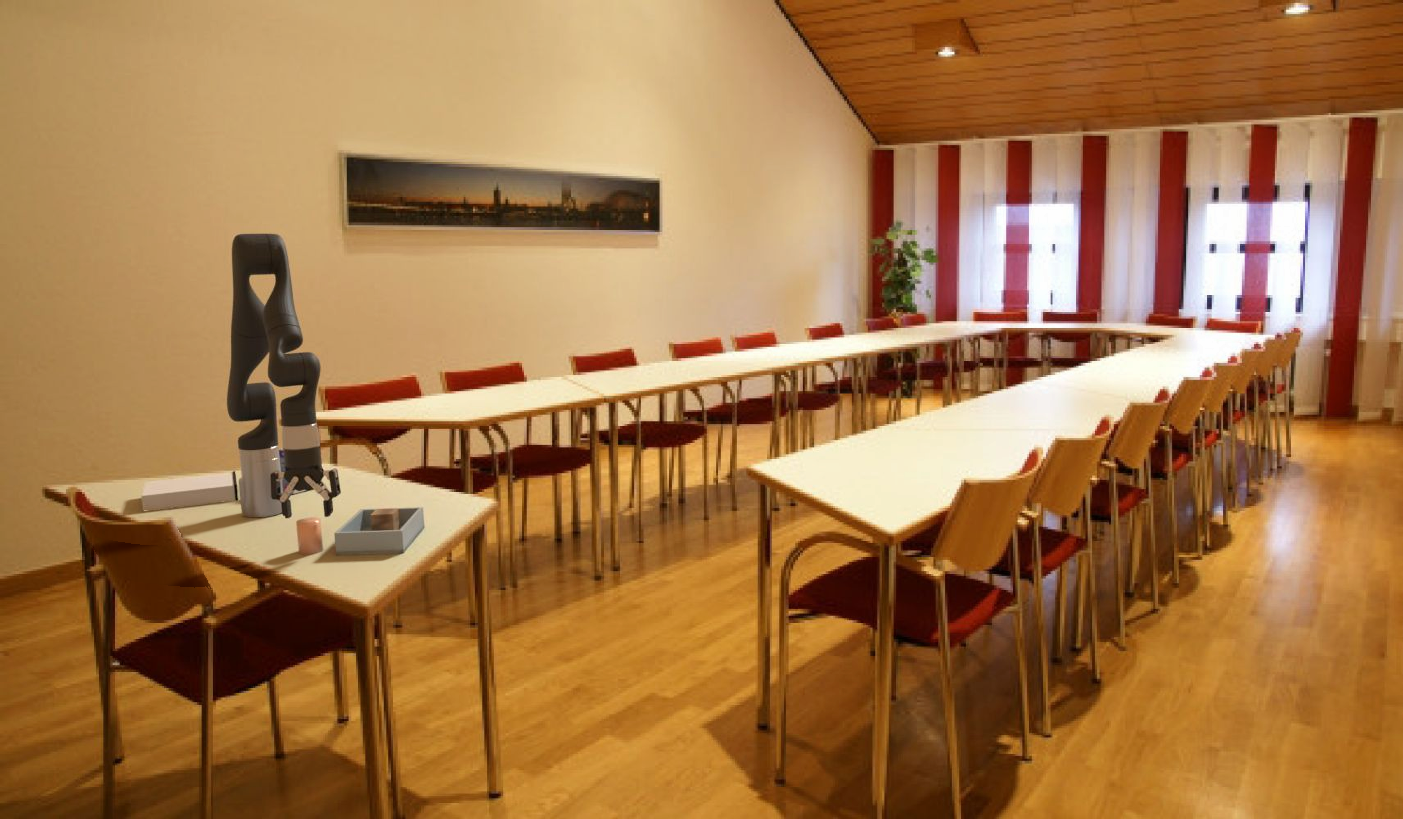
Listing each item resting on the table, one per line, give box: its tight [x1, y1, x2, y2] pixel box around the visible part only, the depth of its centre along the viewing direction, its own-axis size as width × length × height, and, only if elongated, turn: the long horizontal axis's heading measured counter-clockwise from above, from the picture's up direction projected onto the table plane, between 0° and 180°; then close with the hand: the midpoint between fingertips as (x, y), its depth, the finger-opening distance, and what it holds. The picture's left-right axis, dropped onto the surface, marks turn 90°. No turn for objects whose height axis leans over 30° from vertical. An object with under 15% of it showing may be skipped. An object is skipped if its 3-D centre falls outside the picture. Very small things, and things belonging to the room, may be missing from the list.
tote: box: [334, 506, 425, 556], centre depth 229 cm, size 15×20×5 cm
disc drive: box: [141, 470, 239, 511], centre depth 272 cm, size 18×22×5 cm
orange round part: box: [295, 517, 324, 556], centre depth 222 cm, size 5×5×7 cm
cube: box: [371, 507, 400, 531], centre depth 232 cm, size 5×5×5 cm
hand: (308, 516), depth 221 cm, fingers open, 8 cm apart
